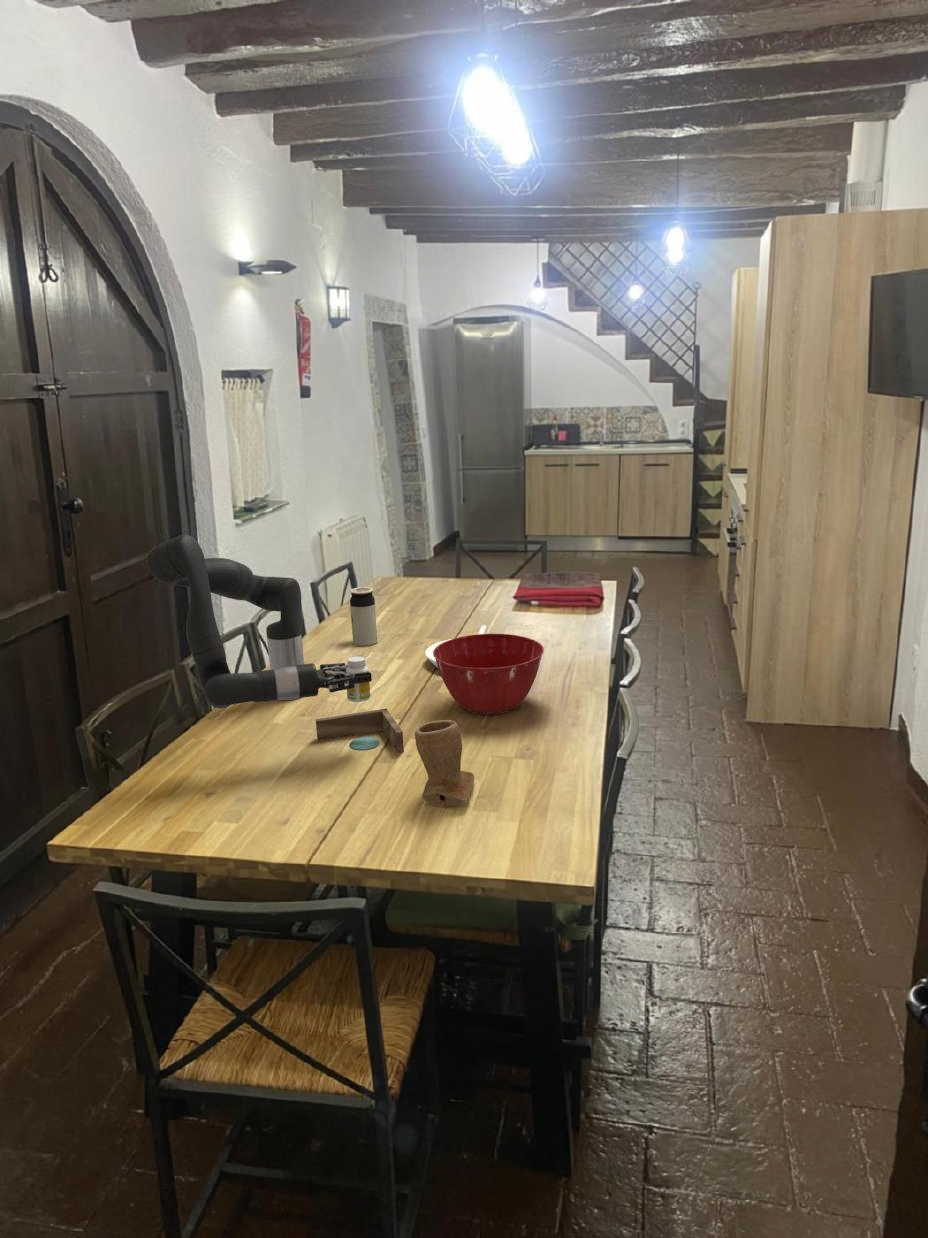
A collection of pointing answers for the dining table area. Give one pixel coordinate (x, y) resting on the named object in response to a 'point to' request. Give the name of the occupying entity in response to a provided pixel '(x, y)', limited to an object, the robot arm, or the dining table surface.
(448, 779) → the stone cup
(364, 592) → the travel mug
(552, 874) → the dining table surface
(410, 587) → the dining table surface
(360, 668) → the supplement bottle
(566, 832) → the dining table surface
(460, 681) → the mixing bowl
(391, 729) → the corner arena
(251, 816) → the dining table surface
